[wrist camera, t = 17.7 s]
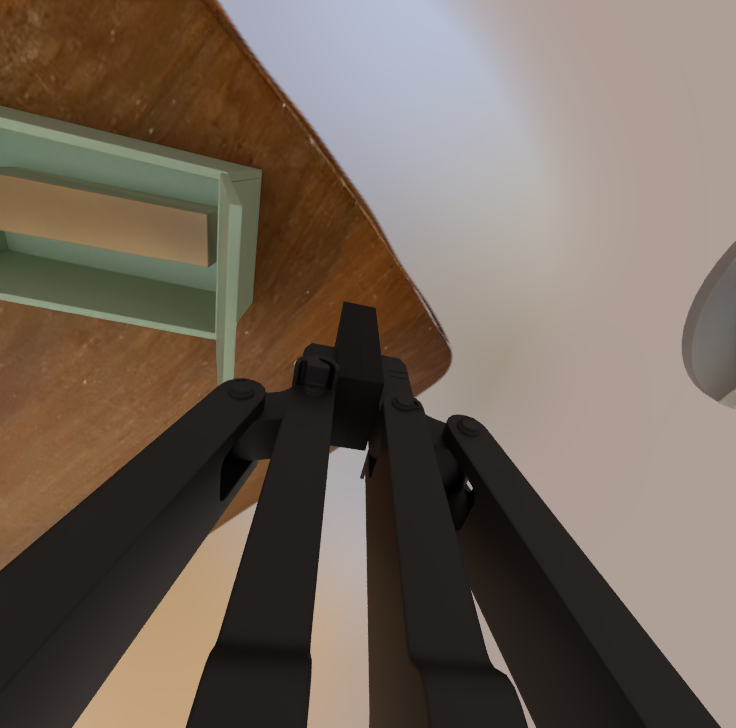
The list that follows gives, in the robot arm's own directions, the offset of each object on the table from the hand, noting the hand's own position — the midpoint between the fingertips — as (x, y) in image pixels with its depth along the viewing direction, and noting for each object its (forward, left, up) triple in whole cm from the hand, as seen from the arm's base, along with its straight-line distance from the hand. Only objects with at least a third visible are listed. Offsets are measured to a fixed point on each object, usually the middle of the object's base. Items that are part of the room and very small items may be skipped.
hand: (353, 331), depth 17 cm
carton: (+16, +6, -13) cm, 22 cm away
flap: (+6, +2, -1) cm, 6 cm away
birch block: (+16, +6, -13) cm, 21 cm away
